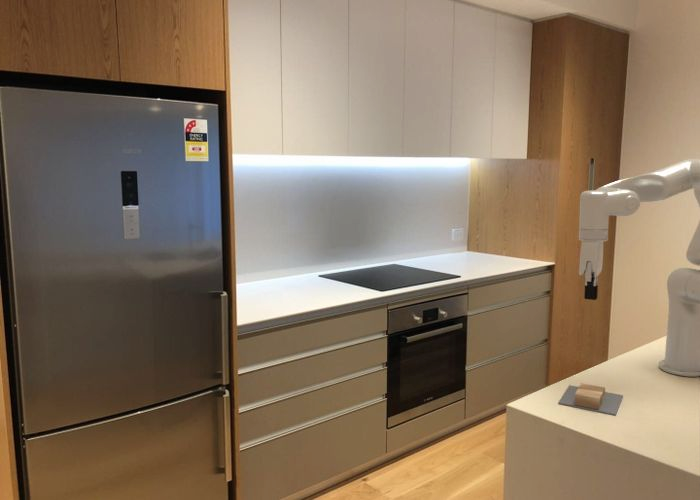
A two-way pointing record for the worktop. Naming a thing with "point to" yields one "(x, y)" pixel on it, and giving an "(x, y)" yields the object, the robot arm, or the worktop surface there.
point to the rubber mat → (607, 407)
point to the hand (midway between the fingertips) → (590, 298)
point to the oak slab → (589, 396)
